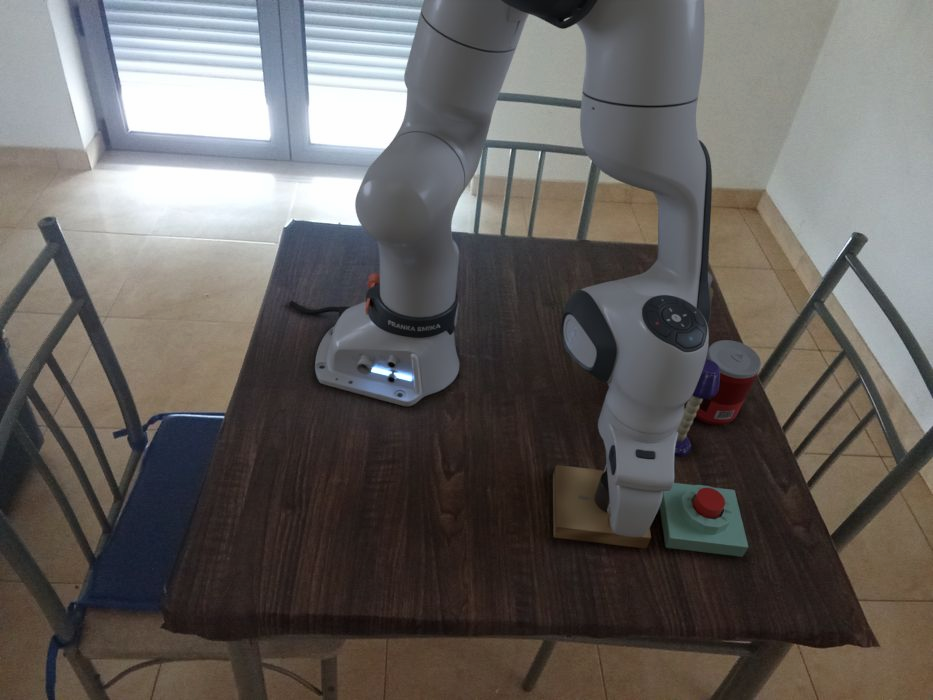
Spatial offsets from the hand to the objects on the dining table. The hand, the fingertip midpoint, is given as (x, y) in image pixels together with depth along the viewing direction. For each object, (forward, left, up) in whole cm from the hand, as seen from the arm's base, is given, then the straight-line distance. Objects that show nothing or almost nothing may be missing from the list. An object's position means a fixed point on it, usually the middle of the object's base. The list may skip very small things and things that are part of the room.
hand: (612, 493), depth 92 cm
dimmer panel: (-1, 0, -4) cm, 4 cm away
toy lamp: (+11, +13, -4) cm, 18 cm away
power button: (+13, 0, 0) cm, 13 cm away
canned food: (+18, +22, -4) cm, 29 cm away
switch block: (+12, 0, -4) cm, 13 cm away
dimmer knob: (0, 0, -2) cm, 2 cm away
